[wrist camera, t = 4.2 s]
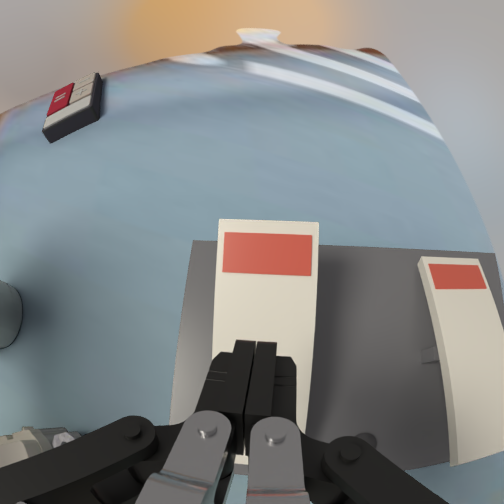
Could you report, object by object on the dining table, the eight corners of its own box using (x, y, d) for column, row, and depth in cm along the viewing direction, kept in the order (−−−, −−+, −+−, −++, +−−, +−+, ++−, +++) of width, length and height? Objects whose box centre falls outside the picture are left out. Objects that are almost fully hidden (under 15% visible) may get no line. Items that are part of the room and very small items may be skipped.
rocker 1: (213, 453, 18) (209, 460, 17) (222, 222, 20) (218, 218, 19) (299, 460, 18) (300, 468, 17) (317, 225, 19) (319, 222, 18)
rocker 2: (449, 466, 12) (458, 464, 11) (417, 264, 23) (421, 255, 22) (515, 445, 12) (525, 442, 11) (473, 266, 22) (478, 258, 21)
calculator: (97, 68, 50) (90, 102, 43) (104, 84, 54) (99, 120, 47) (53, 91, 49) (39, 129, 42) (61, 105, 53) (50, 145, 46)
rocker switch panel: (193, 445, 26) (155, 469, 16) (211, 274, 33) (185, 226, 24) (460, 438, 23) (519, 446, 13) (457, 281, 30) (507, 242, 21)
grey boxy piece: (162, 507, 22) (113, 544, 13) (15, 514, 21) (-31, 524, 12) (116, 409, 27) (52, 412, 18) (-13, 445, 25) (-62, 443, 16)
